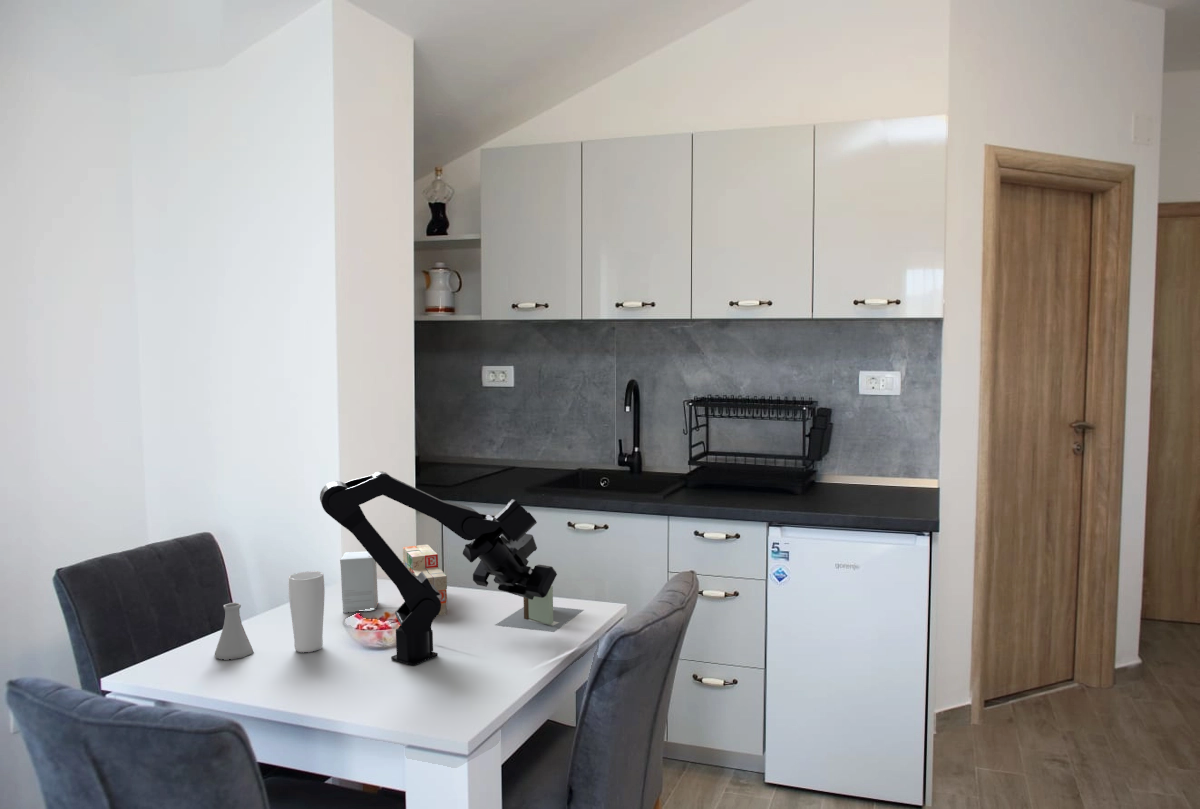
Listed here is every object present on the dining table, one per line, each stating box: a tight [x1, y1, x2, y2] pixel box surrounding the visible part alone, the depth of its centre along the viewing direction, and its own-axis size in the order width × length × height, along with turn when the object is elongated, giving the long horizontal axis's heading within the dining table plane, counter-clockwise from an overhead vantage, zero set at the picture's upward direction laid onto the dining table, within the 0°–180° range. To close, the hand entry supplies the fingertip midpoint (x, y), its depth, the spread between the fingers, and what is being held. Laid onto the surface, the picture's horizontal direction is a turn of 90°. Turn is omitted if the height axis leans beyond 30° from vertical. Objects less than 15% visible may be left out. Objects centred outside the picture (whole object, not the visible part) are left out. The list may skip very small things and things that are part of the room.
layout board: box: [495, 606, 584, 633], centre depth 186 cm, size 16×14×1 cm
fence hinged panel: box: [528, 585, 554, 624], centre depth 182 cm, size 7×1×8 cm, turn 45°
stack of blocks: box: [402, 544, 448, 616], centre depth 198 cm, size 21×6×12 cm, turn 22°
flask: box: [214, 602, 255, 661], centre depth 167 cm, size 7×7×10 cm
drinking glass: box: [287, 570, 326, 653], centre depth 169 cm, size 7×7×15 cm
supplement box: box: [339, 550, 379, 614], centre depth 197 cm, size 7×7×13 cm
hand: (532, 597), depth 179 cm, fingers closed
